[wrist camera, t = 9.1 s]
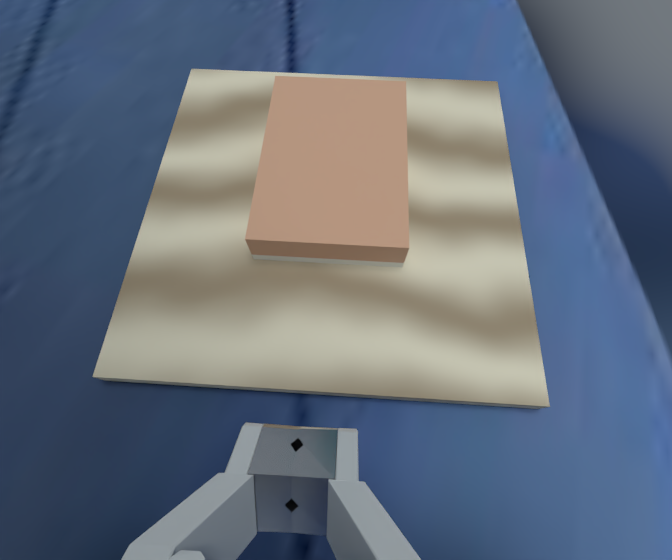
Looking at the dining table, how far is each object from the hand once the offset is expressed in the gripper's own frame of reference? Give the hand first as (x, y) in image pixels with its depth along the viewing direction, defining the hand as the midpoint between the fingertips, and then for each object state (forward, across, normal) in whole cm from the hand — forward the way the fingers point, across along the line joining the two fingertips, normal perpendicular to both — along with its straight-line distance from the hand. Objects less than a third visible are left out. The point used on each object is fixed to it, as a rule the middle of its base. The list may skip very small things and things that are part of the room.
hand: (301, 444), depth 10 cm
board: (+18, 0, -3) cm, 18 cm away
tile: (+13, 0, -1) cm, 13 cm away
